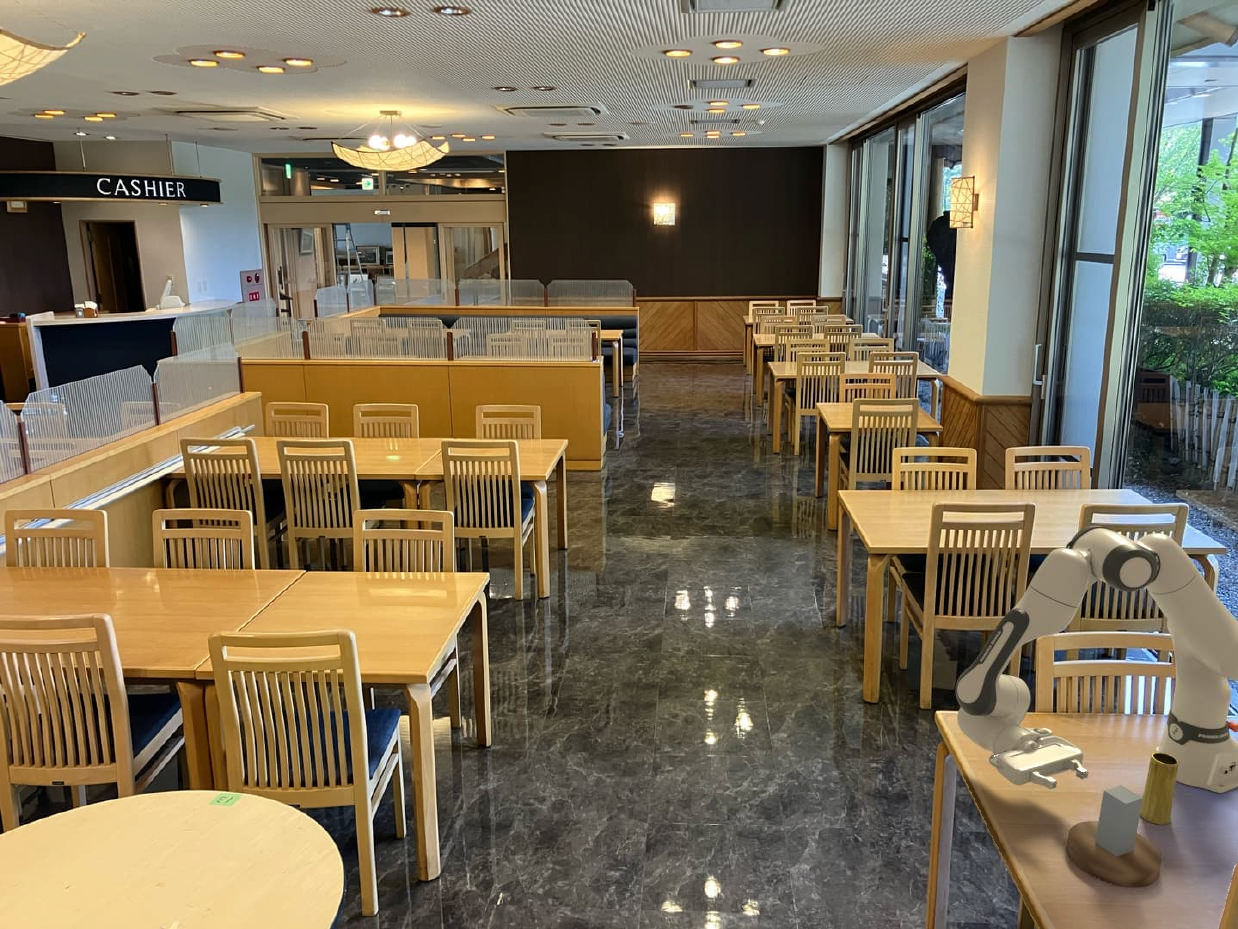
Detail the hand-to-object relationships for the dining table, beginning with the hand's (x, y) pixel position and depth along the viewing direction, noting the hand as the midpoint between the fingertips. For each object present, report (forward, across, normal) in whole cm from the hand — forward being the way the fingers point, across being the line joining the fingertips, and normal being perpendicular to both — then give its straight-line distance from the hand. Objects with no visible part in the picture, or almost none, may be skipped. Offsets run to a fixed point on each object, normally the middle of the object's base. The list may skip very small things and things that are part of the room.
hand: (1070, 780), depth 206 cm
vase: (+6, +22, +11) cm, 25 cm away
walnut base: (+12, 0, +11) cm, 16 cm away
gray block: (+12, 0, +8) cm, 14 cm away
